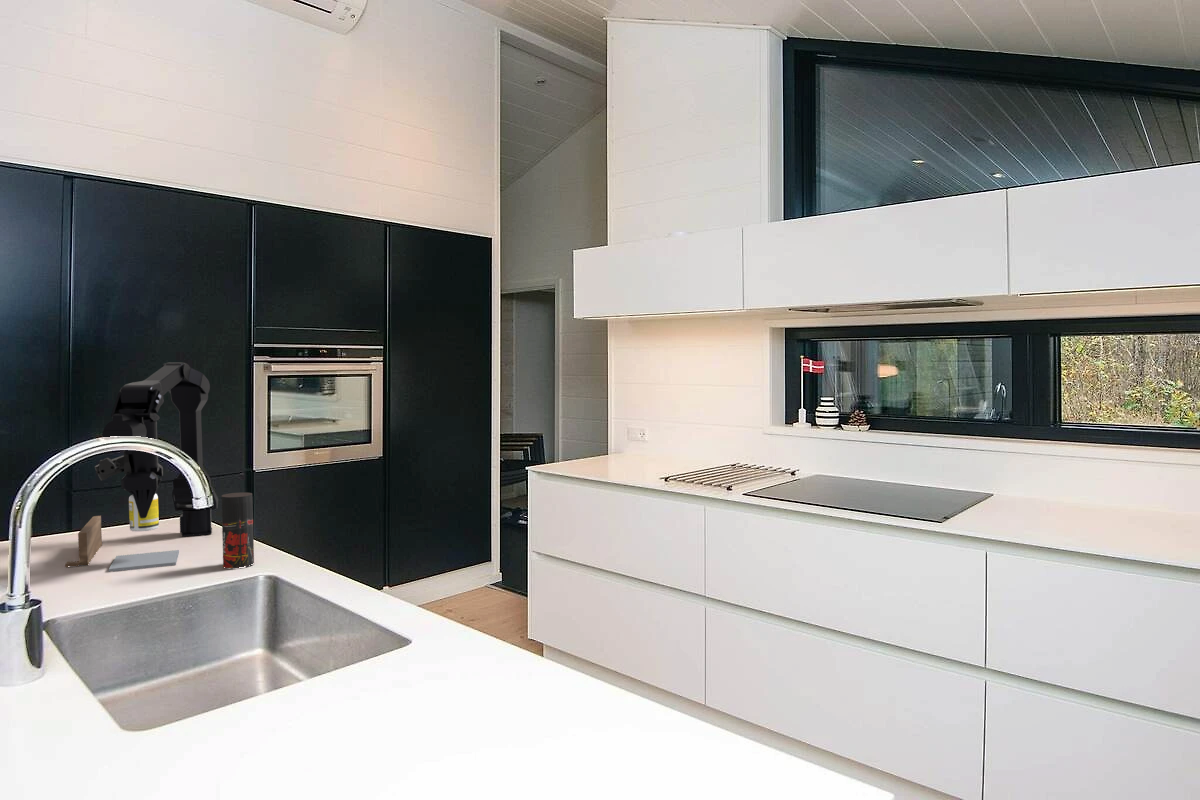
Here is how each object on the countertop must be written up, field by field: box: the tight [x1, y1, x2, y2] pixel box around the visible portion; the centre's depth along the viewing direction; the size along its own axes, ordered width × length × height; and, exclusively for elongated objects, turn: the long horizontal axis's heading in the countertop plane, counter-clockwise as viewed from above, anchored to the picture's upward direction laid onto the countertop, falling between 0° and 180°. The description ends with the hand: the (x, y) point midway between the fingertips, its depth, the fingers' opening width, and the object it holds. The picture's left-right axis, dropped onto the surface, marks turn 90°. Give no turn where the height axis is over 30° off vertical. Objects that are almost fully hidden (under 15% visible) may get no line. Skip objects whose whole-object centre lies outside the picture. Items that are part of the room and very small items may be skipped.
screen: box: [64, 515, 103, 568], centre depth 169 cm, size 4×20×7 cm, turn 26°
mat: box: [108, 549, 180, 573], centre depth 164 cm, size 12×12×1 cm
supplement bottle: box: [128, 492, 160, 532], centre depth 164 cm, size 5×5×10 cm
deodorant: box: [221, 492, 255, 569], centre depth 161 cm, size 6×6×15 cm
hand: (144, 515), depth 164 cm, fingers closed on supplement bottle, 5 cm apart
